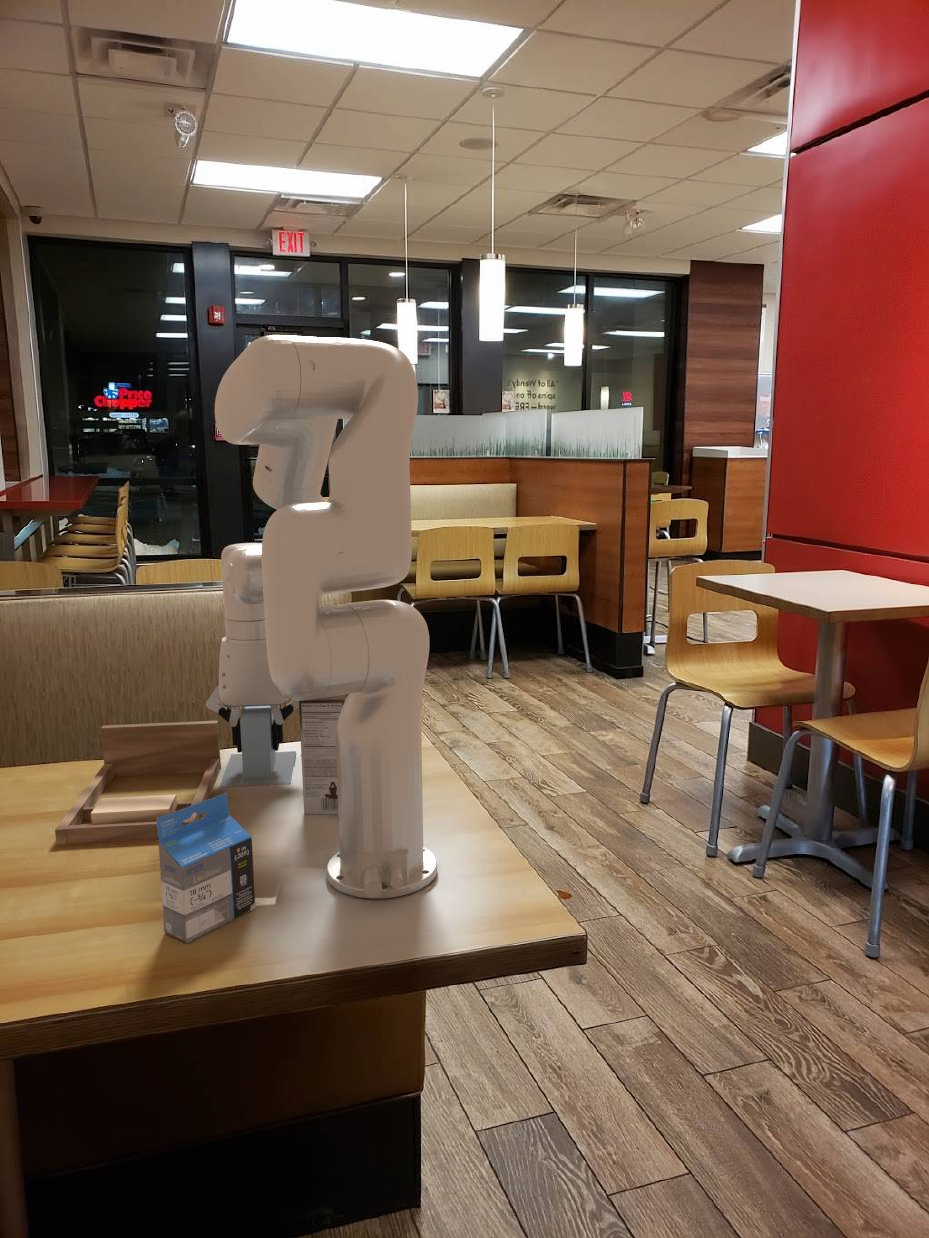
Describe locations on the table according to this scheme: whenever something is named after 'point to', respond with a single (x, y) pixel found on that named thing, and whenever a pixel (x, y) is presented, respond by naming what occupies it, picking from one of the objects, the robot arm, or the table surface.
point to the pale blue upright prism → (257, 742)
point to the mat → (279, 777)
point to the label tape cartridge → (204, 869)
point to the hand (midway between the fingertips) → (258, 747)
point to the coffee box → (320, 753)
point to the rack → (144, 755)
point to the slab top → (133, 809)
